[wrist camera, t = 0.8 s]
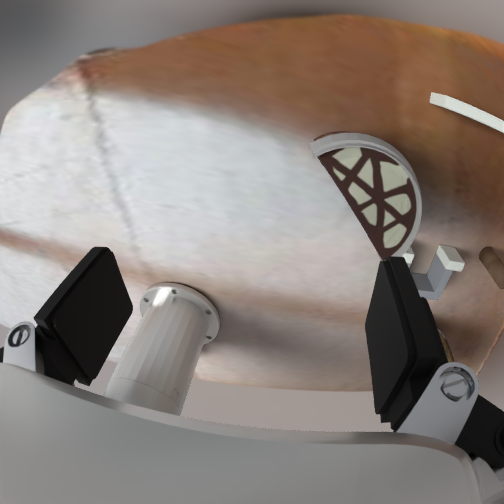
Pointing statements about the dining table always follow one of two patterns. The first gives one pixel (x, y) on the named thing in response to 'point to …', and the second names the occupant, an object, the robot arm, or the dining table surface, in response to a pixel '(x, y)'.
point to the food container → (374, 187)
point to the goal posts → (493, 265)
